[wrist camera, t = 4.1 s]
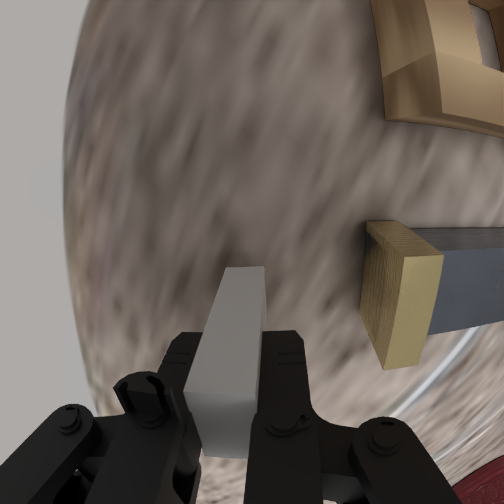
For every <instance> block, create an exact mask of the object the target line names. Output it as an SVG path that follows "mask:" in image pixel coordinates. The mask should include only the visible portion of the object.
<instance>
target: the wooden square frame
mask: <svg viewBox="0 0 504 504" xmlns="http://www.w3.org/2000/svg"><path fill="white" fill-rule="evenodd" d="M370 3H371V8H372V13H373V19H374V24H375V30H376V36H377V43H378V50H379V57H380V65H381V74H382V83H383V95H384V108H385V120H388V121H400V122H410V123H419V124H427V125H434V126H441V127H448V128H454V129H460V130H466V131H471V132H476V133H481V134H486V135H491V136H495V137H500V138H504V0H370ZM469 3H470V4H473V5H475V6H478V7H480V8H482V9H485V10H487V11H488V13H489V16H490V20H491V23H492V27H493V31H494V35H495V39H496V44H497V49H498V54H499V59H500V64H501V70H502V72H500V71H498V70H495V69H492V68H490V67H487V66H484V65H483V64H482V58H481V52H480V47H479V42H478V38H477V33H476V29H475V25H474V21H473V17H472V14H471V10H470V7H469Z"/></svg>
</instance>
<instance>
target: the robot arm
mask: <svg viewBox="0 0 504 504" xmlns="http://www.w3.org/2000/svg"><path fill="white" fill-rule="evenodd" d="M166 353H167V354H165V356H164V359H163V361H162V364H161V365H160V367H159V369H158V372H157V373H155V372H151V371H144V372H136V373H133V374H129V375H127V376H126V377H124V378H122V379H121V380H119V381H118V382H117V384H116V385H115V386H114V387H113V389H114V391H115V393H116V395H117V397H118V399H119V401H120V403H121V405H122V407H123V409H124V411H125V414H122V415H117V416H104V417H94V416H93V415H92V413H91V411H89V410H88V409H87V408H86V407H85V406H82V405H79V404H68V405H65V406H62V407H60V408H58V409H57V410H55V411H54V412H53V413H52V414H51V415H50V416H49V417H48V418H47V419H46V420H45V421H44V422H43V423H42V424H41V425H40V426H39V427H38V428H37V429H36V430H35V431H34V432H33V433H32V434H31V435H30V436H29V437H28V438H27V439H26V440H25V441H24V442H23V443H22V444H21V445H20V446H19V447H18V448H17V449H16V450H15V451H14V452H13V454H11V455H10V456H9V458H8V459H7V460H6V461H5V462H4V463H3V464H2V465H1V466H0V504H195V503H196V498H197V493H198V488H199V483H200V478H201V465H200V463H199V457H200V452H201V448H202V449H203V452H204V455H205V456H211V457H224V458H245V459H248V464H247V474H246V484H245V493H244V503H243V504H323V500H329V501H335V502H336V503H337V504H462V502H461V501H460V499H459V498H458V496H457V495H456V493H455V492H454V490H453V489H452V487H451V486H450V484H449V483H448V481H447V480H446V478H445V477H444V475H443V474H442V472H441V471H440V469H439V468H438V466H437V465H436V464H435V462H434V461H433V459H432V458H431V456H430V455H429V453H428V452H427V451H426V449H425V448H424V446H423V445H422V443H421V442H420V440H419V439H418V438H417V436H416V435H415V433H414V432H413V431H412V429H411V428H410V427H409V426H408V425H407V424H406V423H405V422H403V421H400V420H398V419H396V418H392V417H383V416H382V417H377V418H372V419H370V420H368V421H366V422H364V423H362V424H361V425H360V426H359V428H353V427H346V426H340V425H336V424H332V423H329V422H327V421H325V420H323V419H322V418H321V417H319V416H318V415H317V414H316V412H315V411H314V409H313V408H312V405H311V400H310V391H309V382H308V374H307V365H306V357H305V349H304V341H303V339H302V338H301V337H300V335H299V334H298V333H297V332H296V331H295V330H289V331H267V306H266V285H265V266H257V267H226V269H225V272H224V275H223V277H222V280H221V283H220V286H219V289H218V291H217V294H216V297H215V300H214V303H213V306H212V309H211V311H210V314H209V317H208V320H207V323H206V326H205V329H204V331H203V332H182V333H180V334H179V335H178V336H177V337H176V338H175V339H174V340H172V341H171V344H170V346H169V348H168V350H167V352H166ZM77 469H78V470H77ZM76 470H77V471H76ZM75 471H76V472H75Z"/></svg>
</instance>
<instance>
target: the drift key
mask: <svg viewBox="0 0 504 504" xmlns="http://www.w3.org/2000/svg"><path fill="white" fill-rule="evenodd" d="M359 315H360V317H361V319H362V321H363V324H364V326H365V328H366V330H367V333H368V335H369V337H370V340H371V342H372V344H373V347H374V349H375V352H376V354H377V356H378V359H379V361H380V364H381V366H382V369H383V370H389V369H396V368H402V367H408V366H414V365H418V363H419V360H420V357H421V353H422V350H423V347H424V343H425V340H426V336H427V335H432V334H438V333H444V332H450V331H455V330H461V329H466V328H471V327H476V326H480V325H485V324H490V323H494V322H498V321H503V320H504V228H443V229H409V228H407V227H406V226H404V225H403V224H402V223H400V222H399V221H366V241H365V256H364V269H363V281H362V291H361V300H360V309H359Z"/></svg>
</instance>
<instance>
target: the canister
mask: <svg viewBox="0 0 504 504" xmlns="http://www.w3.org/2000/svg"><path fill="white" fill-rule="evenodd" d="M452 489H453V490H454V492H455V493H456V495H457V496H458V498H459V499H460V501H461V502H462V504H504V456H502V457H500V458H498V459H496V460H494V461H492V462H490V463H489V464H487V465H485V466H483V467H482V468H480V469H479V470H477V471H475V472H474V473H472V474H471V475H469V476H468V477H466V478H465V479H463V480H462V481H460V482H459V483H458V484H456V485H455V486H454V487H453V488H452Z"/></svg>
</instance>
